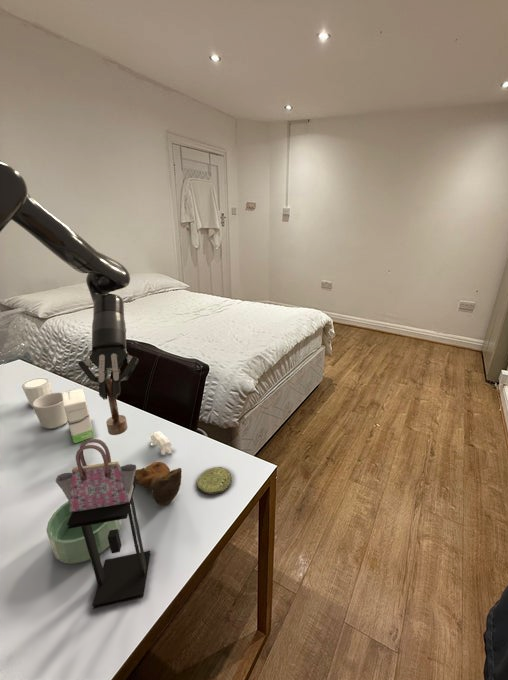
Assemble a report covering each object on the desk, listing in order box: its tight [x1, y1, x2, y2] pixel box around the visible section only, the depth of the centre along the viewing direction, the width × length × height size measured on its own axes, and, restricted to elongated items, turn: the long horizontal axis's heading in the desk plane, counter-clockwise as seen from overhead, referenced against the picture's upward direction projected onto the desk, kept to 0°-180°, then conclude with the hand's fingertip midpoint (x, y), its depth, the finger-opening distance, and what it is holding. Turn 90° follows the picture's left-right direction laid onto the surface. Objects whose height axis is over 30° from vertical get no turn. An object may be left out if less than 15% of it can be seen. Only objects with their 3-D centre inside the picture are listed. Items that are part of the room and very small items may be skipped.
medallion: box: [196, 466, 233, 495], centre depth 76 cm, size 8×8×1 cm
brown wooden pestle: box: [105, 378, 128, 436], centre depth 80 cm, size 4×4×15 cm
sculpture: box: [135, 461, 183, 506], centre depth 72 cm, size 8×10×15 cm
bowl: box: [46, 500, 122, 565], centre depth 62 cm, size 11×11×6 cm
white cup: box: [21, 377, 52, 407], centre depth 101 cm, size 7×7×7 cm
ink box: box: [61, 387, 95, 444], centre depth 88 cm, size 9×5×12 cm, turn 38°
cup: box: [31, 392, 68, 430], centre depth 93 cm, size 11×8×8 cm
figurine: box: [149, 430, 173, 456], centre depth 85 cm, size 2×8×5 cm, turn 50°
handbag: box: [54, 438, 151, 610], centre depth 50 cm, size 10×8×30 cm
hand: (110, 397), depth 77 cm, fingers closed on brown wooden pestle
